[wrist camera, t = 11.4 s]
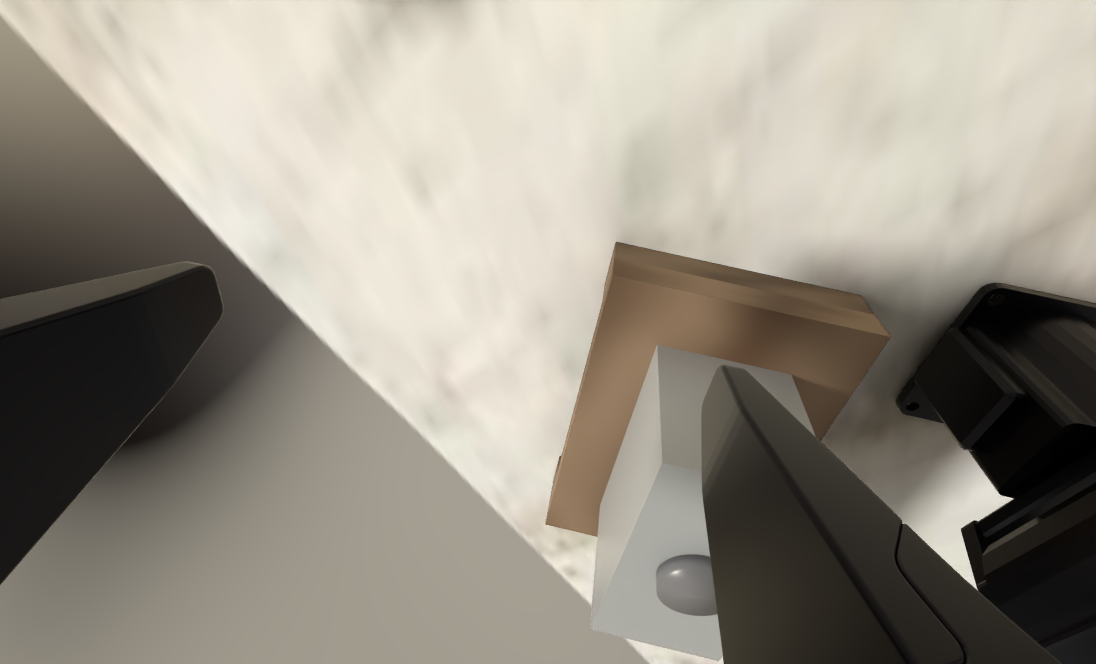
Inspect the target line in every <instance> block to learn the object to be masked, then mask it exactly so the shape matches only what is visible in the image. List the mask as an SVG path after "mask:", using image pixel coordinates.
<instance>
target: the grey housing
mask: <svg viewBox="0 0 1096 664" xmlns="http://www.w3.org/2000/svg"><path fill="white" fill-rule="evenodd" d="M720 365H730V366H735V367H740V368H744V369H746V370H747V371H748V372H749V373H750V374H751V375H752V376H753V377H754V378H755V379H756V380H757V381H758V382H759V383H760V384H761V385H762V386H763V387H765V388H766V389H767V390H768V391H769V392H770V393H771V394H772V395H773V396H774V397H775V398H776V399H777V400H778V401H779V402H780V403H781V404H782V405H783V406H784V407H785V408H786V409H787V410H788V411H789V412H790V413H791V414H793V415H794V416H795V417H796V418H797V419H798V420H799V421H800V422H801V423H802V424H803V425H804V426H805V427H806V428H807V429H808V430H809V431H810V432H811V433H812V434H813V435H814V436H815V433H814V431H813V428H812V426H811V423H810V421H809V418H808V416H807V413H806V410H805V408H804V405H803V403H802V400H801V398H800V395H799V393H798V390H797V388H796V385H795V383H794V380H793V378H792V375H791V374H787V373H782V372H778V371H773V370H769V369H764V368H760V367H755V366H751V365H746V364H742V363H737V362H733V361H729V360H724V359H720V358H715V357H711V356H706V355H702V354H697V353H693V352H688V351H684V350H679V349H675V348H670V347H666V346H662V345H657V346H656V349H655V352H654V355H653V358H652V360H651V363H650V366H649V369H648V372H647V374H646V377H645V380H644V383H643V386H642V389H641V391H640V394H639V397H638V400H637V403H636V405H635V408H634V411H633V414H632V417H631V419H630V422H629V425H628V428H627V431H626V434H625V436H624V439H623V442H622V445H621V448H620V450H619V453H618V456H617V459H616V462H615V464H614V467H613V470H612V473H611V476H610V479H609V481H608V484H607V487H606V490H605V493H604V495H603V498H602V501H601V504H600V512H599V524H598V536H597V549H596V561H595V573H594V585H593V597H592V609H591V621H590V630H594V631H598V632H603V633H607V634H611V635H615V636H619V637H623V638H627V639H631V640H635V641H639V642H643V643H647V644H651V645H655V646H659V647H664V648H668V649H672V650H676V651H680V652H684V653H688V654H692V655H696V656H700V657H704V658H708V659H712V660H716V661H719V660H720V659H721V658H722V656H723V653H722V645H721V637H720V630H719V622H718V614H717V606H716V599H715V591H714V583H713V575H712V568H711V560H710V552H709V544H708V537H707V529H706V521H705V513H704V506H703V496H702V474H701V411H702V404H703V400H704V398H705V395H706V393H707V391H708V388H709V386H710V383H711V381H712V379H713V376H714V374H715V372H716V370H717V368H718V367H719V366H720ZM815 437H816V436H815Z"/></svg>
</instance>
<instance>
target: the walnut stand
mask: <svg viewBox="0 0 1096 664" xmlns="http://www.w3.org/2000/svg"><path fill="white" fill-rule="evenodd" d="M889 339H890V335H889V334H888V333H887V331H886V330H885V328H884V327H883V326H882V324H881V323H880V322H879V320H878V319H877V317H876V316H875V315H874V313H873V312H872V311H871V309H870V308H869V307H868V305H867V304H866V302H865V301H864V300H863V298H862V297H861V296H860V295H856V294H851V293H847V292H842V291H838V290H833V289H829V288H824V287H819V286H815V285H810V284H806V283H801V282H797V281H792V280H787V279H783V278H778V277H774V276H769V275H765V274H760V273H755V272H751V271H746V270H742V269H737V268H733V267H728V266H723V265H719V264H714V263H710V262H705V261H700V260H696V259H691V258H687V257H682V256H678V255H673V254H668V253H664V252H659V251H655V250H650V249H646V248H641V247H636V246H632V245H627V244H623V243H618V242H616V243H615V247H614V251H613V255H612V259H611V262H610V266H609V270H608V274H607V278H606V282H605V286H604V294H603V302H602V306H601V309H600V313H599V317H598V321H597V324H596V328H595V332H594V336H593V340H592V343H591V347H590V351H589V355H588V358H587V362H586V366H585V370H584V373H583V377H582V381H581V385H580V389H579V392H578V396H577V400H576V404H575V407H574V411H573V415H572V419H571V423H570V426H569V430H568V434H567V438H566V441H565V445H564V449H563V453H562V456H560V457H559V461H558V465H557V469H556V472H555V476H554V480H553V486H552V491H551V497H550V502H549V508H548V513H547V519H546V525H550V526H555V527H559V528H563V529H567V530H571V531H576V532H580V533H584V534H588V535H592V536H596V537H597V536H598V524H599V512H600V504H601V501H602V498H603V495H604V493H605V490H606V487H607V484H608V481H609V479H610V476H611V473H612V470H613V467H614V464H615V462H616V459H617V456H618V453H619V450H620V448H621V445H622V442H623V439H624V436H625V434H626V431H627V428H628V425H629V422H630V419H631V417H632V414H633V411H634V408H635V405H636V403H637V400H638V397H639V394H640V391H641V389H642V386H643V383H644V380H645V377H646V374H647V372H648V369H649V366H650V363H651V360H652V358H653V355H654V352H655V349H656V346H657V345H662V346H666V347H670V348H675V349H679V350H684V351H688V352H693V353H697V354H702V355H706V356H711V357H715V358H720V359H724V360H729V361H733V362H737V363H742V364H746V365H751V366H755V367H760V368H764V369H769V370H773V371H778V372H782V373H787V374H791V375H792V378H793V380H794V383H795V385H796V388H797V390H798V393H799V395H800V398H801V400H802V403H803V405H804V408H805V410H806V413H807V416H808V418H809V421H810V423H811V426H812V428H813V431H814V433H815V436H816V438H817V439H818V440H820V441H821V439H822V438H823V436H824V435H825V433H826V432H827V430H828V429H829V427H830V426H831V424H832V423H833V421H834V420H835V418H836V417H837V415H838V414H839V412H840V411H841V410H842V408H843V407H844V405H845V404H846V402H847V401H848V399H849V398H850V396H851V395H852V393H853V392H854V390H855V389H856V387H857V386H858V384H859V383H860V381H861V380H862V379H863V377H864V376H865V374H866V373H867V371H868V370H869V368H870V367H871V365H872V364H873V362H874V361H875V359H876V358H877V356H878V355H879V353H880V352H881V350H882V349H883V347H884V346H885V345H886V343H887V342H888V340H889Z"/></svg>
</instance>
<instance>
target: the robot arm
mask: <svg viewBox="0 0 1096 664" xmlns="http://www.w3.org/2000/svg"><path fill="white" fill-rule="evenodd" d="M995 294H998V295H997V297H995V298H994V299H992V300H989V298H990V297H991V296H992V295H995ZM222 314H223V302H222V299H221V295H220V291H219V287H218V283H217V280H216V276H215V273H214V271H213V270H212V269H211V268H210V267H209V266H207V265H202V264H197V263H192V262H179V263H174V264H169V265H164V266H159V267H154V268H150V269H145V270H140V271H135V272H130V273H125V274H120V275H116V276H111V277H106V278H101V279H96V280H91V281H86V282H81V283H77V284H72V285H67V286H62V287H58V288H52V289H48V290H42V291H38V292H33V293H28V294H23V295H18V296H13V297H8V298H4V299H0V585H1V583H2V582H3V581H4V580H5V579H6V578H7V577H8V575H9V574H10V573H11V572H12V571H13V570H14V569H15V567H16V566H17V565H18V564H19V563H20V562H21V561H22V559H23V558H24V557H25V556H26V555H27V554H28V553H29V551H30V550H31V549H32V548H33V547H34V546H35V544H36V543H37V542H38V541H39V540H40V539H41V537H42V536H43V535H44V534H45V533H46V532H47V531H48V530H49V528H50V527H51V526H52V525H53V524H54V523H55V521H56V520H57V519H58V518H59V517H60V516H61V515H62V514H63V512H64V511H65V510H66V509H67V508H68V507H69V505H70V504H71V503H72V502H73V501H74V500H75V499H76V497H77V496H78V495H79V494H80V493H81V491H82V490H83V489H84V488H85V487H86V486H87V485H88V484H89V482H90V481H91V480H92V479H93V478H94V477H95V476H96V474H97V473H98V472H99V471H100V470H101V469H102V468H103V466H104V465H105V464H106V463H107V462H108V461H109V460H110V458H111V457H112V456H113V455H114V454H115V453H116V452H117V450H118V449H119V448H120V447H121V446H122V445H123V443H124V442H125V441H126V440H127V439H128V438H129V437H130V435H131V434H132V433H133V432H134V431H135V430H136V429H137V427H138V426H139V425H140V424H141V423H142V422H143V420H144V419H145V418H146V417H147V416H148V415H149V414H150V412H151V411H152V410H153V409H154V408H155V407H156V406H157V404H158V403H159V402H160V401H161V400H162V399H163V398H164V396H165V395H166V394H167V393H168V391H169V390H170V389H171V388H172V387H173V386H174V384H175V383H176V382H177V380H178V379H179V378H180V376H181V375H182V374H183V372H184V371H185V369H186V368H187V366H188V365H189V364H190V362H191V361H192V359H193V358H194V357H195V355H196V354H197V352H198V351H199V349H200V348H201V347H202V345H203V344H204V342H205V341H206V339H207V338H208V337H209V335H210V334H211V332H212V331H213V329H214V328H215V327H216V325H217V324H218V322H219V321H220V319H221V317H222ZM911 402H914V403H913V404H910V405H908V404H909V403H911ZM896 405H897V406H898V408H899V409H900V411H901V412H902V413H903V414H906V415H910V416H914V417H919V418H923V419H928V420H932V421H936V422H941V423H944V424H945V425H946V427H947V428H948V430H949V431H950V432H951V434H952V435H953V437H954V438H955V440H956V441H957V442H958V444H959V445H960V447H961V448H963V449H964V450H968V451H969V452H970V454H971V455H972V457H973V458H974V459H975V461H976V462H977V464H978V465H979V466H980V468H981V469H982V471H983V472H984V473H985V475H986V476H987V477H988V479H989V480H990V482H991V483H992V484H993V486H994V487H995V489H996V490H997V491H998V493H999V494H1000V495H1003V496H1006V497H1011V498H1013V500H1011V501H1010V502H1008V503H1006V504H1005V505H1003V506H1002V507H1000V508H999V509H997V510H995V511H994V512H992V513H991V514H989V515H987V516H986V517H984V518H983V519H981V520H980V521H975V520H974V521H972V522H971V523H969V524H967V525H966V526H964V527H963V528H961V532H962V536H963V539H964V543H965V546H966V550H967V554H968V557H969V561H970V564H971V568H972V571H973V575H974V579H975V582H976V586H977V589H978V591H977V590H976V589H975V588H974V587H973V586H972V585H971V584H970V583H968V582H967V581H966V580H965V579H964V578H963V577H962V576H961V575H960V574H959V573H957V572H956V571H955V570H954V569H953V568H952V567H951V566H950V565H949V564H948V563H947V562H946V561H945V560H944V559H942V558H941V557H940V556H939V555H938V554H937V553H936V552H935V551H934V550H933V549H932V548H931V547H930V546H929V545H928V544H927V543H925V542H924V541H923V540H922V539H921V538H920V537H919V536H918V535H917V534H916V533H915V532H914V531H913V530H912V529H911V528H910V527H909V526H908V525H907V524H902V520H901V519H900V518H899V517H898V516H897V515H896V514H895V513H894V512H893V511H892V510H891V509H890V508H889V507H888V506H887V505H886V504H885V503H884V502H883V501H882V500H881V499H880V498H879V497H878V496H877V495H876V494H874V493H873V492H872V491H871V490H870V489H869V488H868V487H867V486H866V485H865V484H864V483H863V482H862V481H861V480H860V479H859V478H858V477H857V476H856V475H855V474H854V473H853V472H852V471H851V470H850V469H849V468H848V467H846V466H845V465H844V464H843V463H842V462H841V461H840V460H839V459H838V458H837V457H836V456H835V455H834V454H833V453H832V452H831V451H830V450H829V449H828V448H827V447H826V446H825V445H824V444H823V443H822V442H821V441H820V440H818V439H817V438H816V437H815V436H814V435H813V434H812V433H811V432H810V431H809V430H808V429H807V428H806V427H805V426H804V425H803V424H802V423H801V422H800V421H799V420H798V419H797V418H796V417H795V416H794V415H793V414H791V413H790V412H789V411H788V410H787V409H786V408H785V407H784V406H783V405H782V404H781V403H780V402H779V401H778V400H777V399H776V398H775V397H774V396H773V395H772V394H771V393H770V392H769V391H768V390H767V389H766V388H765V387H763V386H762V385H761V384H760V383H759V382H758V381H757V380H756V379H755V378H754V377H753V376H752V375H751V374H750V373H749V372H748V371H747V370H746V369H744V368H740V367H735V366H730V365H720V366H719V367H718V368H717V370H716V372H715V374H714V376H713V379H712V381H711V383H710V386H709V388H708V391H707V393H706V395H705V398H704V400H703V404H702V411H701V474H702V496H703V506H704V513H705V521H706V529H707V537H708V544H709V552H710V560H711V568H712V575H713V583H714V591H715V599H716V606H717V614H718V622H719V630H720V637H721V645H722V653H723V661H724V664H1096V304H1094V303H1089V302H1084V301H1080V300H1075V299H1070V298H1066V297H1061V296H1057V295H1052V294H1047V293H1043V292H1038V291H1033V290H1029V289H1024V288H1019V287H1015V286H1010V285H1006V284H1001V283H991V284H987V285H985V286H983V287H981V288H980V289H979V290H978V291H977V292H976V294H975V295H974V296H973V298H972V299H971V300H970V302H969V303H968V304H967V306H966V307H965V308H964V310H963V311H962V312H961V314H960V315H959V316H958V318H957V319H956V320H955V322H954V323H953V324H952V326H951V327H950V328H949V330H948V331H947V332H946V334H945V335H944V336H943V338H942V339H941V340H940V342H939V343H938V344H937V346H936V347H935V348H934V350H933V351H932V352H931V354H930V355H929V356H928V358H927V359H926V360H925V362H924V363H923V364H922V366H921V367H920V368H919V370H918V371H917V372H916V374H915V375H914V377H913V378H912V379H911V381H910V382H909V383H908V385H907V386H906V387H905V389H904V390H903V391H902V393H901V394H900V395H899V397H898V398H897V400H896Z"/></svg>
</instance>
